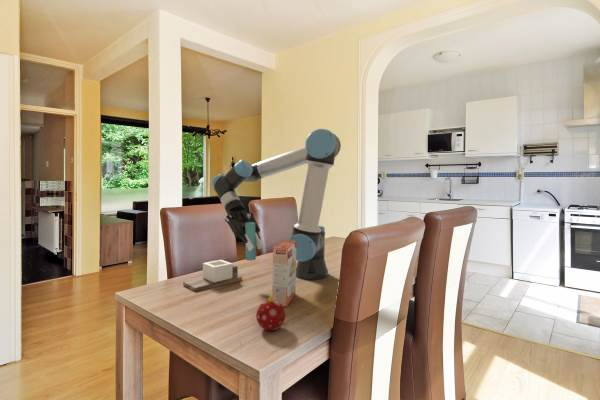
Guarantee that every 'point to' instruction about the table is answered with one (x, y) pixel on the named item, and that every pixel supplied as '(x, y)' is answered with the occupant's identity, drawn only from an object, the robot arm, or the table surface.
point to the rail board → (205, 284)
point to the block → (217, 270)
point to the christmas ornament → (270, 314)
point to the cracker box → (284, 272)
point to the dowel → (251, 234)
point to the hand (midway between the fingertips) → (256, 248)
